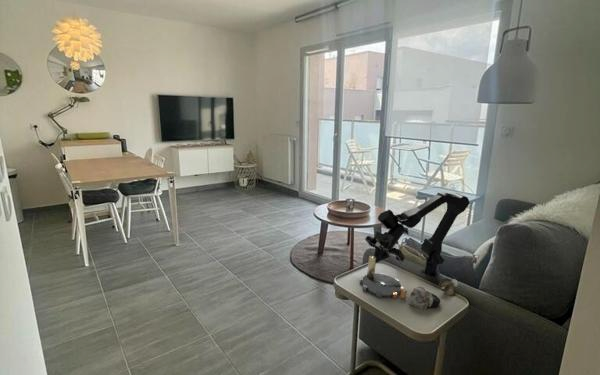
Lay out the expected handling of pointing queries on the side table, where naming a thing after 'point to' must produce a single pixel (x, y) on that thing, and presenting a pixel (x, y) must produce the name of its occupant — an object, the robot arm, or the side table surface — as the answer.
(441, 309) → the side table surface
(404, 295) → the index pointer
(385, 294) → the grey base with rod
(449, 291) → the eagle figurine
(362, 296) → the side table surface
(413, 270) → the side table surface
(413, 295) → the grey rock
